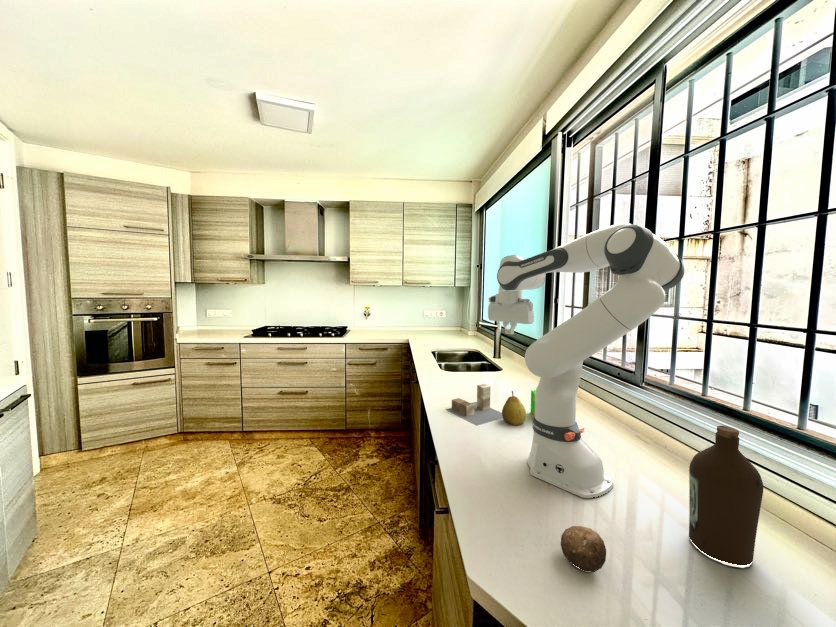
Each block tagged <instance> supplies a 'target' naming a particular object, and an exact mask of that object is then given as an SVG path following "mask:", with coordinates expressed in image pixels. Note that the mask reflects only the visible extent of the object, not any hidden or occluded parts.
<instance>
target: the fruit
mask: <svg viewBox="0 0 836 627" xmlns="http://www.w3.org/2000/svg"><path fill="white" fill-rule="evenodd" d="M501 413H502V416H503V418H502V419H503V420H504V421H505V422H506V423H508V424H510V425H513V426H519V425H522V424H523V423H524V422H525V421H526V418H527V413H526V408H525V406H524V404H523V403H522V402H521V400H520V399H519V398H518V397H517V396H516V395H514V390H511V396H509V397H507V399H506V401H505V403H504V405H503V407H502V410H501Z"/></svg>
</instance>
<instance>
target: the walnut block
mask: <svg viewBox="0 0 836 627" xmlns="http://www.w3.org/2000/svg"><path fill="white" fill-rule="evenodd" d="M471 403H472V402H469V401H466V400H465V399H462V398H459V397H458V398H453V399H451V408H452V409H453V410H455V411H457V412H459V413H461V414H463V415H465V416H469V415H473V414H474V404H471Z"/></svg>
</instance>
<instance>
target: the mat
mask: <svg viewBox="0 0 836 627" xmlns="http://www.w3.org/2000/svg"><path fill="white" fill-rule="evenodd" d="M470 403H471V404H474V414H473V415H469V416H465V415H463V414H461V413H459V412H457V411H455V410H453V409H452V407H450V408H445V411H447V412H449V413H451V414H453V415H454V416H455V415H456V417H458V418H461V419H463V420H465V421H467V422H468V423H470V424H472V425H474V426H480V425H484V424H487V423H490V422H494V421H498V420H501V419H503V416H502V411H499V410H496V409H495V408H492V407H490V409H488V410H484V411H483V410H481V409H478V408H477V401H474V402H470Z"/></svg>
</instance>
